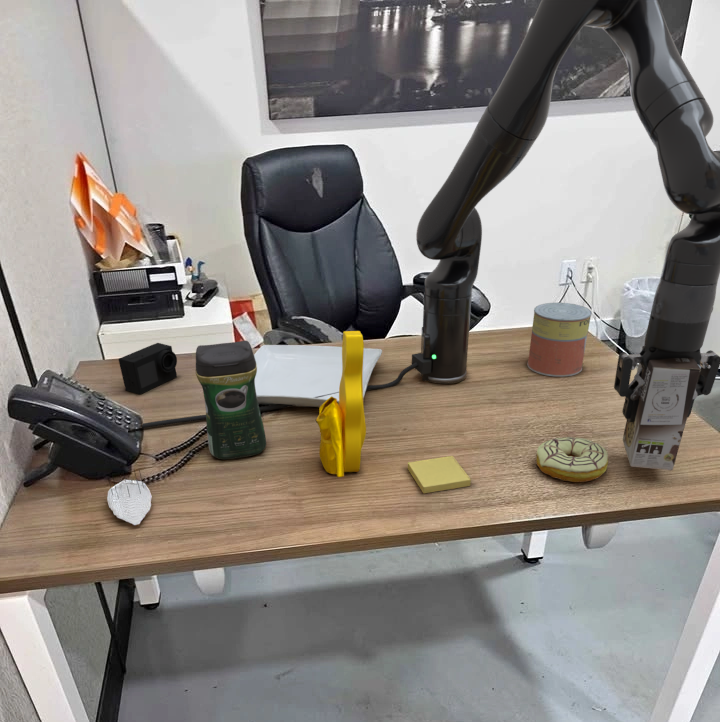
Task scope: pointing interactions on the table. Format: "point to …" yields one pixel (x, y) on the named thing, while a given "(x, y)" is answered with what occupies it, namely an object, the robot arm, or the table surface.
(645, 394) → the coffee box
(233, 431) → the coffee jar
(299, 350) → the square plate
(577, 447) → the decorated donut
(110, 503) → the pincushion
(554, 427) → the table surface
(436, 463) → the sticky note pad
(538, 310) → the canned food
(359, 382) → the figure statuette
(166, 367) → the digital camera
